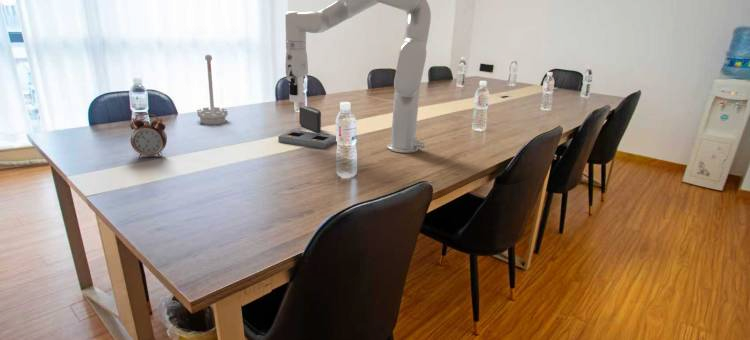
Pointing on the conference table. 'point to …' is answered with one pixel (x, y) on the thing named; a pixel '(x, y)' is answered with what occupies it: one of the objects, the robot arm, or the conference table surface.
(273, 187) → the conference table surface
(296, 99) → the plug
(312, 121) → the leaning round-cornered charcoal block
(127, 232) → the conference table surface
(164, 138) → the alarm clock
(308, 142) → the panel
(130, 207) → the conference table surface
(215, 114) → the flag stand
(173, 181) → the conference table surface
